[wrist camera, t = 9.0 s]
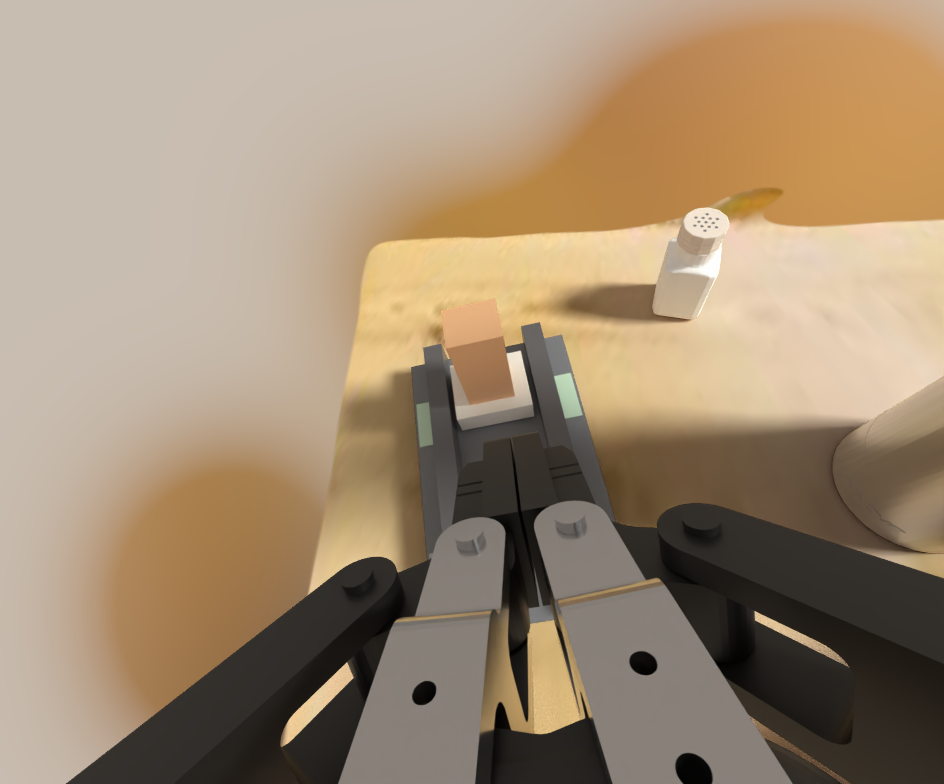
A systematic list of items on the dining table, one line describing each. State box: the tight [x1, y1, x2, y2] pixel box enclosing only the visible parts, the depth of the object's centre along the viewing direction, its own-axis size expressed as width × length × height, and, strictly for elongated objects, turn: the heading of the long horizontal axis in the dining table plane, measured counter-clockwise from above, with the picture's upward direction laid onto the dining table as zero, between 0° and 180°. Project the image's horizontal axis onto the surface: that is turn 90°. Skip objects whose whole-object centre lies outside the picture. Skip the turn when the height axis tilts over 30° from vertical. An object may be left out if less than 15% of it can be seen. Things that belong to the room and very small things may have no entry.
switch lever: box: [441, 299, 534, 430], centre depth 32 cm, size 5×6×11 cm
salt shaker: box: [652, 208, 730, 319], centre depth 36 cm, size 4×4×10 cm
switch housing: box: [411, 322, 616, 624], centre depth 34 cm, size 22×14×5 cm, turn 8°
